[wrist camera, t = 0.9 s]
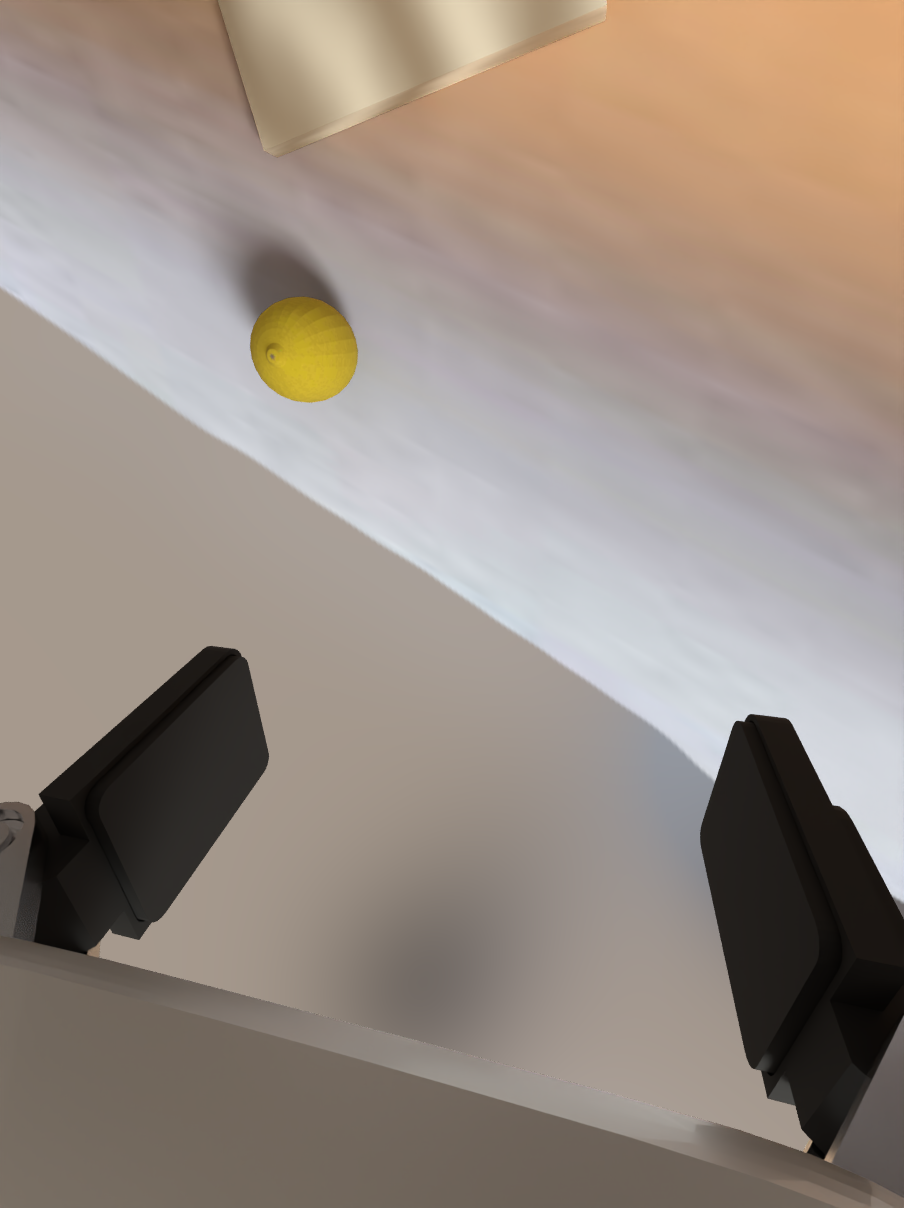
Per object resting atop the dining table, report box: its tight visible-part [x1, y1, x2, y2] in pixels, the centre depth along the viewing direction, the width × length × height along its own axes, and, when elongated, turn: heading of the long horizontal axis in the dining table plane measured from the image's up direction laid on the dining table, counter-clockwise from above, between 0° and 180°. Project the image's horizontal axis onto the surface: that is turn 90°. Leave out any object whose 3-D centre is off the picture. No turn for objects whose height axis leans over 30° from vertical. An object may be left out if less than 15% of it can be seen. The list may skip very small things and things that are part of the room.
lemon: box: [250, 297, 358, 403], centre depth 31 cm, size 6×6×8 cm
